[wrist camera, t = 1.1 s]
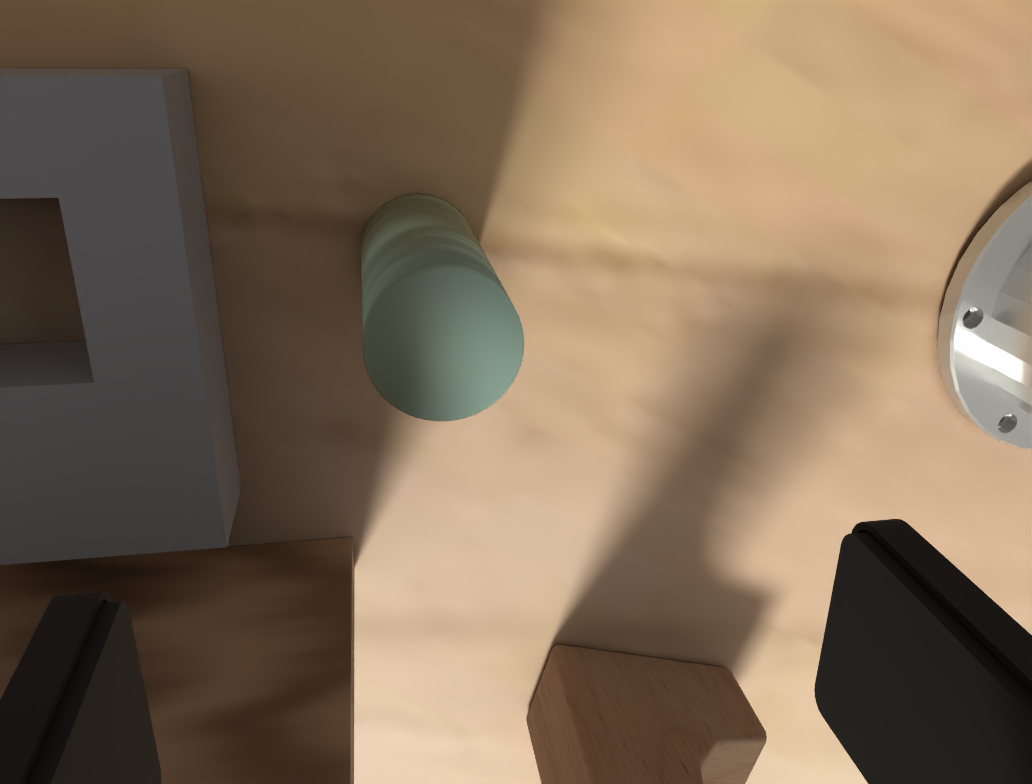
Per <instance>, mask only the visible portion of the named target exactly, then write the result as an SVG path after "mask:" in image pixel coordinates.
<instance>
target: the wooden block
mask: <svg viewBox="0 0 1032 784" xmlns="http://www.w3.org/2000/svg"><path fill="white" fill-rule="evenodd" d="M526 719H527V725H528V729H529V733H530V738H531V742H532V746H533V750H534V754H535V758H536V762H537V767H538V771H539V775H540V779H541V783H542V784H745V783H746V781H747V779H748V777H749V775H750V773H751V771H752V769H753V767H754V765H755V763H756V761H757V759H758V757H759V755H760V753H761V751H762V749H763V747H764V745H765V743H766V731H765V730H764V728H763V726H762V724H761V723H760V721H759V719H758V718H757V716H756V714H755V712H754V711H753V709H752V707H751V705H750V704H749V702H748V700H747V698H746V697H745V695H744V693H743V692H742V690H741V688H740V686H739V685H738V683H737V681H736V679H735V678H734V676H733V674H732V672H730V671H729V670H728V669H726V668H724V667H718V666H711V665H704V664H697V663H689V662H682V661H675V660H668V659H661V658H654V657H646V656H639V655H632V654H625V653H618V652H611V651H603V650H596V649H589V648H582V647H575V646H568V645H555V646H554V647H553V648H552V651H551V653H550V656H549V659H548V661H547V664H546V667H545V669H544V672H543V674H542V677H541V680H540V682H539V685H538V688H537V690H536V693H535V696H534V698H533V701H532V704H531V706H530V709H529V712H528V714H527V718H526Z"/></svg>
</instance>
